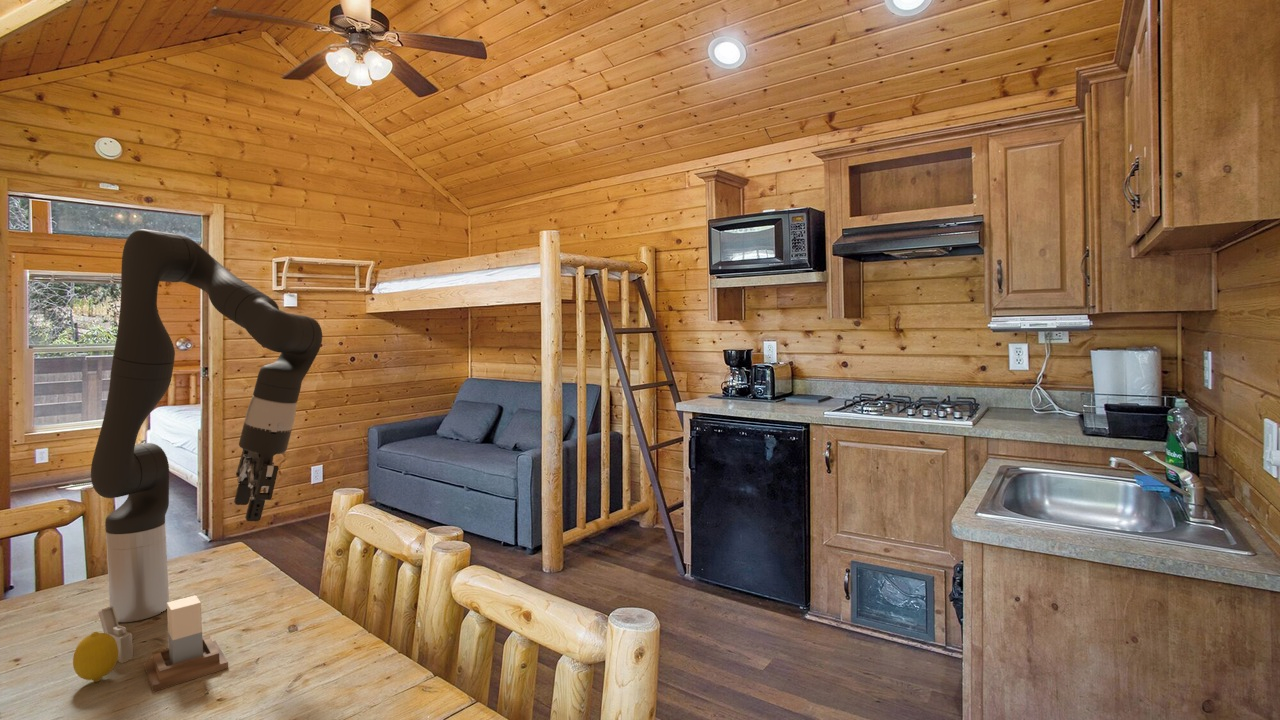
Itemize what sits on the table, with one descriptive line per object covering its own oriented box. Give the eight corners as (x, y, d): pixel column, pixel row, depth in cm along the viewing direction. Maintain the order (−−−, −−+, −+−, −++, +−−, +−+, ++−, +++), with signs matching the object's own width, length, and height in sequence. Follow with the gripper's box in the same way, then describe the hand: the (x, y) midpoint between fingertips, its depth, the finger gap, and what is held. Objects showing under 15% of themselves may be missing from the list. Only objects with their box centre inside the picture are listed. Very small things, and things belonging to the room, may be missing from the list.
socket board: (144, 667, 107) (143, 652, 107) (215, 646, 114) (215, 632, 113) (152, 691, 99) (152, 676, 99) (228, 667, 106) (227, 653, 106)
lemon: (93, 692, 99) (90, 642, 99) (65, 688, 100) (62, 639, 100) (128, 673, 105) (126, 625, 104) (101, 670, 106) (98, 622, 105)
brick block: (169, 661, 107) (166, 602, 106) (198, 652, 109) (195, 595, 109) (174, 670, 104) (171, 610, 103) (203, 661, 106) (200, 602, 106)
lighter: (133, 658, 110) (131, 612, 109) (121, 663, 108) (119, 616, 108) (112, 648, 113) (109, 604, 112) (100, 653, 111) (97, 608, 111)
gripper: (235, 412, 116) (213, 499, 116) (255, 431, 106) (231, 526, 106) (280, 416, 122) (259, 500, 122) (303, 435, 112) (280, 526, 111)
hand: (246, 512), depth 114 cm, fingers open, 8 cm apart
